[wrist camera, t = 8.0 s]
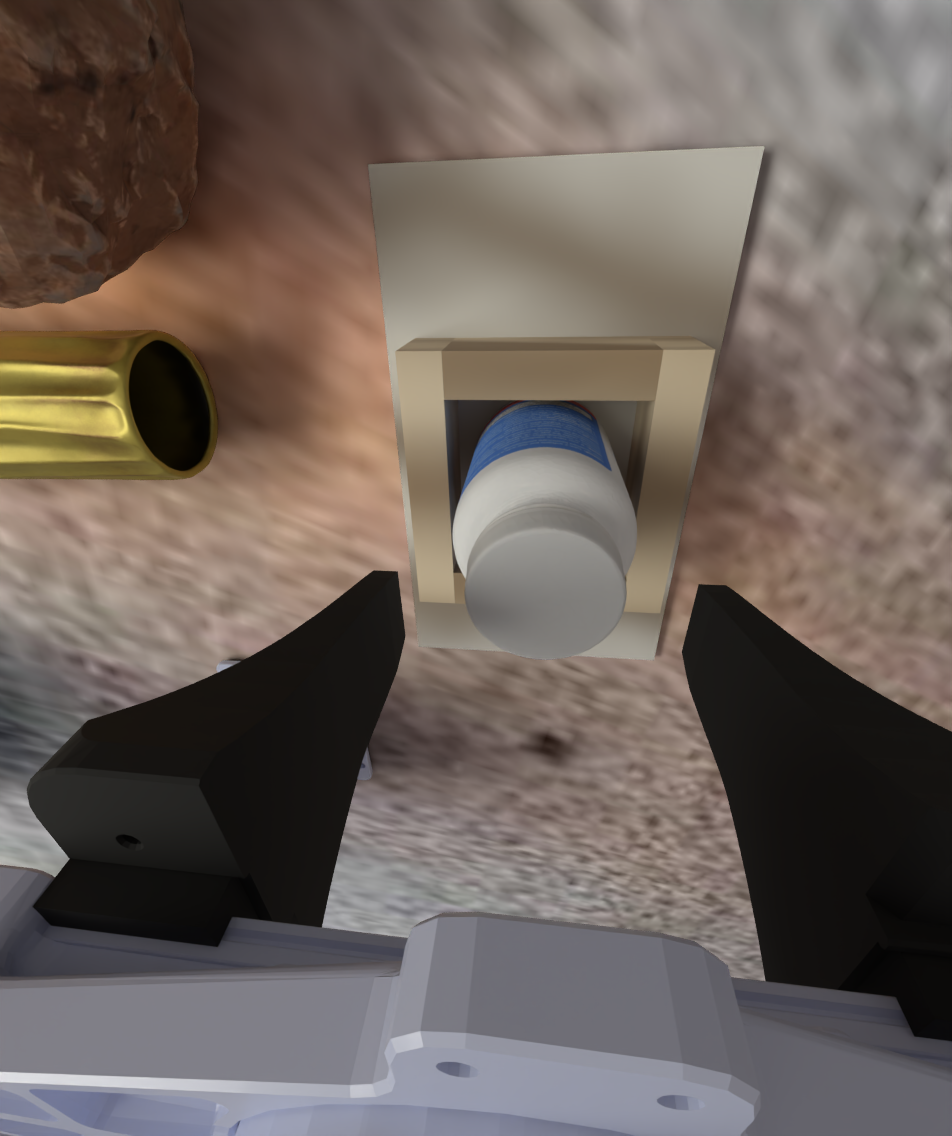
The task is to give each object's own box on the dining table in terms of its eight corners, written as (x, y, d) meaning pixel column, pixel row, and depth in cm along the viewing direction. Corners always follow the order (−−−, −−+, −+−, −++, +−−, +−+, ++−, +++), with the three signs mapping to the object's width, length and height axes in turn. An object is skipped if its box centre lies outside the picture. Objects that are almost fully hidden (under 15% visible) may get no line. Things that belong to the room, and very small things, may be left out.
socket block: (652, 655, 26) (666, 705, 23) (420, 641, 27) (405, 687, 24) (759, 148, 15) (809, 124, 12) (371, 165, 16) (335, 147, 14)
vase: (-76, 498, 23) (223, 500, 22) (-290, 472, 17) (110, 473, 16) (-73, 364, 23) (226, 359, 22) (-285, 290, 17) (114, 279, 16)
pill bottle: (449, 446, 21) (386, 572, 13) (559, 359, 19) (572, 444, 10) (527, 541, 23) (519, 706, 14) (636, 473, 20) (698, 622, 12)
